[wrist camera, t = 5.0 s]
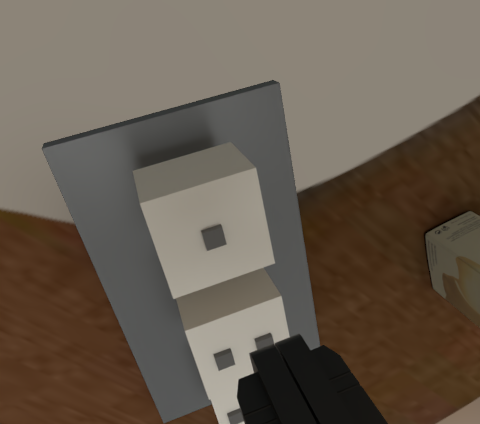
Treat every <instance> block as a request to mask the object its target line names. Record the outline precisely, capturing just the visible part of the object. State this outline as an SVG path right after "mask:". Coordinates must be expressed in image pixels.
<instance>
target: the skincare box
mask: <svg viewBox="0 0 480 424" xmlns="http://www.w3.org/2000/svg"><path fill="white" fill-rule="evenodd" d="M425 238H426V248H427V256H428V263H429V269H430V275H431V280H432V286H433V289H434V290H435V291H437V292H438V293H439V294H440V295H441V296H442V297H444V298H445V299H446V300H447V301H448V302H450V303H451V304H452V305H453V306H454V307H456V308H457V309H458V310H459V311H460V312H461V313H463V314H464V315H465V316H466V317H467V318H468V319H470V320H471V321H472V322H473V323H474V324H476V325H477V326H478V327H479V328H480V216H479V215H477V214H475V213H474V212H472V211H469V212H467V213H465V214H463V215H461V216H459V217H456V218H454V219H452V220H450V221H448V222H446V223H444V224H442V225H441V226H439V227H437V228H435V229H433V230H431V231H430V232H428V233H426V235H425Z"/></svg>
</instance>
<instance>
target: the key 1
mask: <svg viewBox="0 0 480 424" xmlns="http://www.w3.org/2000/svg"><path fill="white" fill-rule="evenodd" d="M133 175H134V179H135V184H136V189H137V193H138V198H139V202H140V206H141V209H142V211H143V214H144V217H145V220H146V223H147V226H148V228H149V231H150V234H151V237H152V240H153V243H154V245H155V248H156V251H157V254H158V257H159V260H160V262H161V265H162V268H163V271H164V274H165V277H166V279H167V282H168V285H169V288H170V291H171V294H172V296H173V299H175V298H178V297H181V296H184V295H187V294H189V293H192V292H195V291H198V290H201V289H204V288H206V287H209V286H212V285H215V284H218V283H221V282H224V281H226V280H229V279H232V278H235V277H238V276H241V275H243V274H246V273H249V272H252V271H255V270H258V269H260V268H263V267H266V266H269V265H272V264H275V260H274V255H273V250H272V245H271V240H270V235H269V230H268V225H267V220H266V215H265V210H264V205H263V200H262V195H261V190H260V185H259V180H258V175H257V170H256V167H255V166H254V165H253V164H252V163H251V162H250V161H249V160H248V159H247V158H246V157H245V156H244V155H243V154H242V153H241V152H240V151H239V150H238V149H237V148H236V147H235V146H234V145H233V144H232V143H231V142H228V143H225V144H222V145H218V146H215V147H212V148H208V149H205V150H201V151H198V152H195V153H191V154H188V155H185V156H181V157H178V158H174V159H171V160H168V161H164V162H161V163H158V164H154V165H151V166H148V167H144V168H141V169H137V170H134V171H133Z"/></svg>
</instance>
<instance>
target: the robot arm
mask: <svg viewBox="0 0 480 424" xmlns="http://www.w3.org/2000/svg"><path fill="white" fill-rule="evenodd" d="M249 356H250V360H251V363H252V367H253V371H254V373H253V374H250V375H248V376H245V377H243V378H240V379H239V380H238V390H237V400H238V403H239V406H240V410H241V413H242V416H243V419H244V423H245V424H388V423H387V422H386V420H385V419H384V418H383V416H382V415H381V413H380V412H379V410H378V409H377V408H376V406H375V405H374V403H373V402H372V400H371V399H370V398H369V396H368V395H367V393H366V392H365V391H364V389H363V388H362V386H360V384H359V382H358V381H357V379H356V378H355V376H354V375H353V373H351V371H350V369H349V368H348V366H347V365H346V364H345V362H344V361H343V359H342V358H341V356H340V355H338V354H337V353H335V352H334V351H332V350H331V349H329V348H328V347H326V346H325V345H323V346H320V347H318V348H315V349H313V350H310V348H309V347H308V345H307V344H306V342H305V341H304V339H303V337H302V336H301V335H300V334H296V335H294V336H291V337H289V338H286V339H284V340H281V341H278V342H276V343H275V345H274V344H271V345H269V346H266V347H263V348H261V349H258V350H256V351H253V352H251V353H249Z"/></svg>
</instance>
